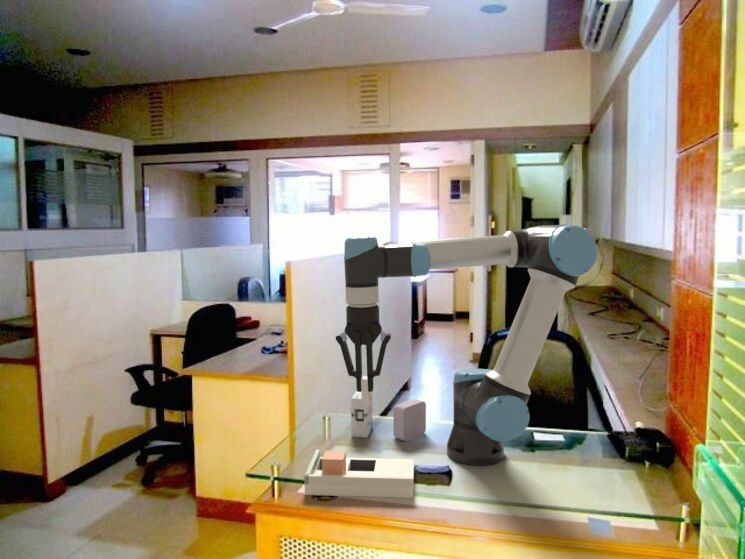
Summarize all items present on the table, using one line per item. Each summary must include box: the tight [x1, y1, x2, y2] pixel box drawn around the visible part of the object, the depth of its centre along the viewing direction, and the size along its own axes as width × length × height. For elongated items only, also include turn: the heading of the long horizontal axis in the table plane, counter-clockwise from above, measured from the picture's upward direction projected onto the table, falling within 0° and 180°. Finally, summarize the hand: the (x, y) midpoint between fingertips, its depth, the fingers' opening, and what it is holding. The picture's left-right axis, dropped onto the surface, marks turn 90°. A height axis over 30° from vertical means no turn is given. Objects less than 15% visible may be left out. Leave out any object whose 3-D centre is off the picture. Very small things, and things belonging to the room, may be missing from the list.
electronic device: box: [393, 398, 427, 442], centre depth 160 cm, size 10×5×10 cm, turn 135°
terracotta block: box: [322, 450, 347, 475], centre depth 129 cm, size 5×5×5 cm
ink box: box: [350, 390, 373, 438], centre depth 162 cm, size 9×5×15 cm, turn 168°
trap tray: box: [303, 449, 415, 499], centre depth 131 cm, size 25×15×4 cm, turn 85°
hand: (365, 404), depth 126 cm, fingers closed
